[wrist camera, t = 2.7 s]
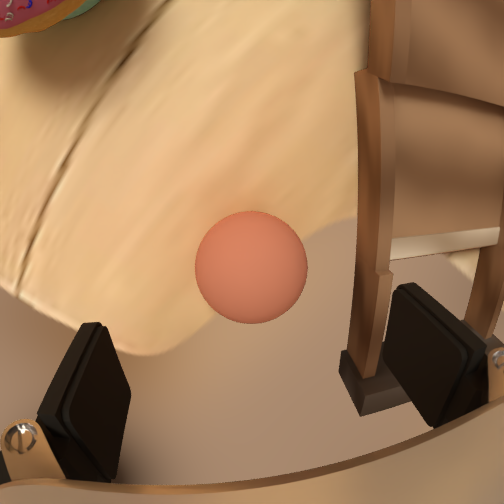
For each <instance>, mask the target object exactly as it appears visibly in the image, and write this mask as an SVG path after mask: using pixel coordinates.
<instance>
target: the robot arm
mask: <svg viewBox="0 0 504 504" xmlns="http://www.w3.org/2000/svg"><path fill="white" fill-rule="evenodd" d="M486 348H487V345H486V344H485V343H484V342H483V341H482V340H481V339H480V338H479V337H478V336H477V335H475V334H474V333H473V332H472V331H471V330H470V329H469V328H468V327H467V326H465V325H464V324H463V323H462V322H461V321H460V320H458V319H457V318H456V317H455V316H454V315H453V314H452V313H450V312H449V311H448V310H447V309H445V307H443V306H442V305H441V304H440V303H439V302H438V301H436V300H435V299H434V298H433V297H432V296H430V295H429V294H428V293H427V292H426V291H424V290H423V289H422V288H421V287H420V286H418V285H417V284H416V283H414V282H413V283H407V284H401V285H399V286H398V287H397V288H396V290H394V292H393V295H392V301H391V308H390V314H389V320H388V326H387V331H386V337H385V342H384V347H383V352H382V357H383V360H384V362H385V364H386V365H387V367H388V368H389V370H390V371H391V372H392V374H393V375H394V377H395V378H396V379H397V381H398V382H399V384H400V385H401V387H402V388H403V390H404V391H405V392H406V394H407V395H408V397H409V398H410V400H411V401H412V403H413V404H414V405H415V407H416V408H417V410H418V411H419V413H420V414H421V416H422V417H423V419H424V420H425V422H426V423H427V424H428V425H429V426H430V427H433V428H434V429H433V430H431V431H429V432H426V433H424V434H421V435H419V436H416V437H414V438H411V439H409V440H407V441H404V442H401V443H398V444H396V445H393V446H390V447H387V448H384V449H381V450H378V451H375V452H372V453H369V454H366V455H362V456H359V457H356V458H352V459H349V460H346V461H342V462H338V463H334V464H330V465H327V466H322V467H318V468H314V469H310V470H305V471H300V472H295V473H290V474H284V475H278V476H272V477H267V478H259V479H252V480H244V481H235V482H225V483H213V484H196V485H133V484H114V483H111V479H115V478H116V475H117V469H118V463H119V457H120V451H121V445H122V439H123V434H124V429H125V424H126V419H127V414H128V409H129V404H130V399H131V390H130V387H129V384H128V382H127V379H126V377H125V375H124V372H123V369H122V367H121V364H120V362H119V359H118V356H117V354H116V351H115V348H114V345H113V342H112V340H111V337H110V334H109V331H108V329H107V327H106V326H102V324H101V323H100V322H91V323H83V324H82V325H81V327H80V328H79V330H78V332H77V334H76V336H75V337H74V340H73V341H72V343H71V345H70V347H69V349H68V350H67V352H66V354H65V356H64V358H63V360H62V362H61V364H60V366H59V368H58V370H57V372H56V374H55V376H54V378H53V380H52V382H51V384H50V386H49V388H48V390H47V392H46V394H45V396H44V399H43V401H42V403H41V405H40V407H39V410H38V412H37V414H38V416H37V419H36V421H33V420H29V419H20V420H17V421H14V422H13V423H11V424H10V425H8V426H7V428H6V429H5V430H4V431H3V433H2V435H1V439H0V447H1V451H0V504H504V348H501V347H500V348H495V349H493V350H492V351H491V352H490V353H489V354H488V356H487V355H486V354H485V350H486Z"/></svg>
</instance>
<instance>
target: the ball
mask: <svg viewBox="0 0 504 504" xmlns="http://www.w3.org/2000/svg"><path fill="white" fill-rule="evenodd" d="M307 269H308V266H307V258H306V253H305V250H304V247H303V244H302V243H301V241H300V239H299V237H298V236H297V234H296V233H295V232H294V230H293V229H292V228H291V227H290V226H289V225H287V224H286V223H285V222H283V221H282V220H280V219H279V218H277V217H275V216H272V215H270V214H266V213H262V212H255V211H247V212H240V213H236V214H233V215H230V216H228V217H226V218H224V219H222V220H221V221H219V222H218V223H216V224H215V225H214V226H213V227H212V228H211V229H210V230H209V231H208V232H207V234H206V235H205V236H204V238H203V240H202V242H201V243H200V246H199V248H198V251H197V255H196V260H195V274H196V280H197V284H198V287H199V289H200V292H201V294H202V295H203V297H204V299H205V300H206V301H207V303H208V304H209V305H210V306H211V307H212V308H213V309H214V310H215V311H216V312H218V313H219V314H220V315H222V316H224V317H226V318H228V319H230V320H232V321H236V322H240V323H247V324H255V323H262V322H267V321H270V320H273V319H275V318H277V317H279V316H280V315H282V314H283V313H285V312H286V311H288V310H289V309H290V308H291V307H292V306H293V305H294V304H295V302H296V301H297V300H298V298H299V296H300V295H301V293H302V291H303V288H304V285H305V282H306V278H307Z"/></svg>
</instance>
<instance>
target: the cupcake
mask: <svg viewBox="0 0 504 504" xmlns="http://www.w3.org/2000/svg"><path fill="white" fill-rule="evenodd" d="M99 1H100V0H0V38H4V37H13V36H17V35H20V34H23V33H29V32H40V31H43V30H45V29H47V28H49V27H50V26H52V25H54V24H56V23H58V22H59V21H61V20H66V19H70V18H73V17H76V16H78V15H80V14H82V13H84V12H86V11H88V10H89V9H91V8H92V7H93V6H95V5H96V4H97V3H98V2H99Z"/></svg>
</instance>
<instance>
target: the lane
mask: <svg viewBox="0 0 504 504" xmlns="http://www.w3.org/2000/svg"><path fill="white" fill-rule="evenodd" d="M354 76H355V89H356V105H357V127H358V224H357V245H356V262H355V263H356V264H355V277H354V288H353V300H352V310H351V320H350V328H349V337H348V344H347V350H343V351H341V358H340V365H339V374H340V376H341V378H342V380H343V382H344V384H345V386H346V388H347V390H348V392H349V395H350V397H351V399H352V401H353V403H354V405H355V407H356V409H357V411H358V413H359V415H360V416H365V415H368V414H372V413H375V412H378V411H382V410H385V409H389V408H392V407H395V406H398V405H401V404H404V403H407V402H410V401H411V400H410V398H409V397H408V395H407V394H406V392H405V391H404V390H403V388H402V387H401V385H400V384H399V382H398V381H397V379H396V378H395V377H394V375H393V374H392V372H391V371H390V370H389V368H388V367H387V365H386V364H385V362H384V360H383V357H382V352H383V347H384V342H385V341H384V342H382V340H383V335H384V330H385V324H386V318H387V313H388V307H389V301H390V294H391V287H392V280H393V273H392V272H391V271H390V270H389V262H390V261H391V260H399V259H406V258H413V257H419V256H427V255H433V254H440V253H447V252H453V251H460V250H466V249H473V248H479V247H481V250H480V255H479V260H478V265H477V270H476V275H475V279H474V283H473V287H472V292H471V296H470V299H469V303H468V307H467V310H466V314H465V318H464V320H461V322H462V323H463V324H464V325H465V326H467V327H468V328H469V329H470V330H471V331H472V332H473V333H474V334H475V335H477V336H478V337H479V338H480V339H481V340H482V341H483V342H484V343H485V344H486V345H487V348H486V350H485V354H486V355H487V356H488V354H489V353H490V352H491V351H492V350H493V349H495V348H500V347H501V348H504V344H503V343H502V342H501V341H500V340H499V339H498V338H497V337H496V336H494V335H493V331H494V329H495V326H496V323H497V320H498V316H499V314H500V311H501V308H502V304H503V301H504V0H371V11H370V35H369V52H368V66H367V68H366V69H363V70H360V71H357V72H355V73H354Z"/></svg>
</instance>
